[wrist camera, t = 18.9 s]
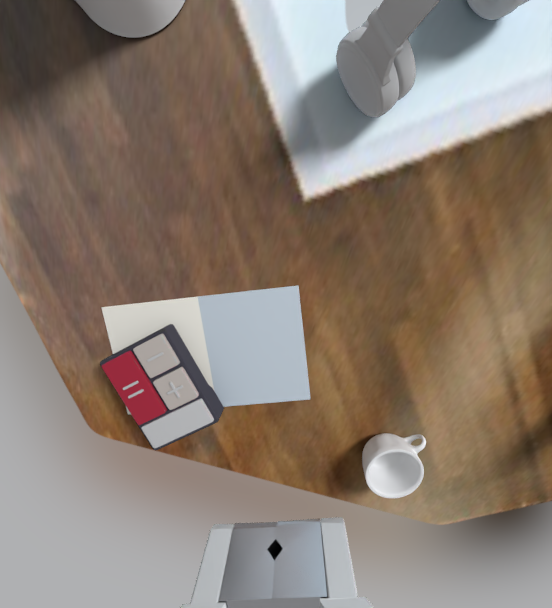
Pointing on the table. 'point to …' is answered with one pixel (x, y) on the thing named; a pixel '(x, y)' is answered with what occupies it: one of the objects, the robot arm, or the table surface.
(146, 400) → the calculator
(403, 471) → the teacup
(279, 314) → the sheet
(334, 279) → the table surface
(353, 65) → the headphones
